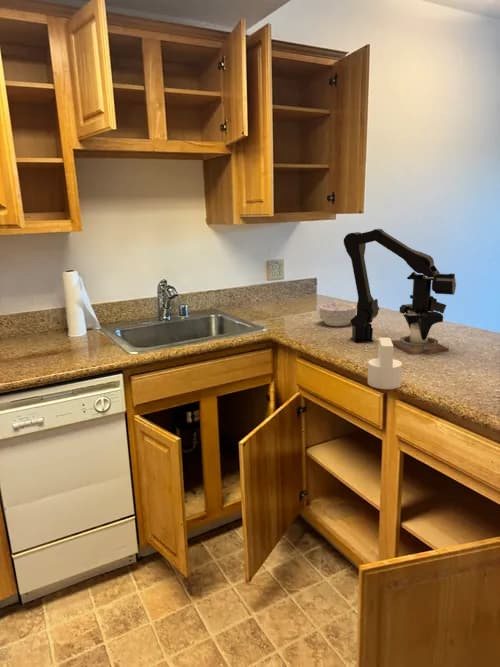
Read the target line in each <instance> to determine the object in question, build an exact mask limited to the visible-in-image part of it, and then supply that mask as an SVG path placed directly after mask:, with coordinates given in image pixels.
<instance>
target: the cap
mask: <svg viewBox="0 0 500 667" xmlns="http://www.w3.org/2000/svg"><path fill="white" fill-rule="evenodd" d="M409 331H410V332H409V336H410V343H413V344H428V337H429V334H430V332H429V333H428V335H427V337H426V339H425V340H422V338H421V334H420V329H419V325H418V323H412V324H410V328H409Z"/></svg>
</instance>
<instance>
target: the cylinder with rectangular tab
mask: <svg viewBox="0 0 500 667" xmlns="http://www.w3.org/2000/svg"><path fill="white" fill-rule="evenodd" d="M392 341H393V340H391V338H390V337H378V348H377V349H378V352H377V353H378V355H377V357H376V358H372V359H370V360H368V362H367V384H368V385H369V386H370V387H372V388H376V389H380V390H381V389H382V390H394V389H398V388H400V387H401V386H402V374H403V362H401V361H400V360H398V359H394V345H393V344H392Z"/></svg>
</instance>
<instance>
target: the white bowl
mask: <svg viewBox="0 0 500 667" xmlns="http://www.w3.org/2000/svg"><path fill="white" fill-rule="evenodd" d="M318 309H319V318H320V319H321V320H323V321H324V324H325V325H327V326H330V327H345V326H348V325H350V324H351V321H350V320H351V319H353V318H354V317H355V316H356V315H357V305H356V306H355V305H354V304H351V303H345V302H331V303H323V304H320V306H319V308H318Z"/></svg>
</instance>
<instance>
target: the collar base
mask: <svg viewBox="0 0 500 667" xmlns="http://www.w3.org/2000/svg"><path fill="white" fill-rule="evenodd" d="M391 341H392V344H393V347H396V348H397V349H399V350H400V351H403V352H404V353H406V354H408V355H419V354H421V355H422V354H432V353H445V352H449V349H450V348H449V347H446V346H444V345H442V344H441V343H439V340H438V339H437V338H434V337H430V336H428V344H413V343H410V335H406V336H403V337H400V338H399V339H398V340H391Z"/></svg>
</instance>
